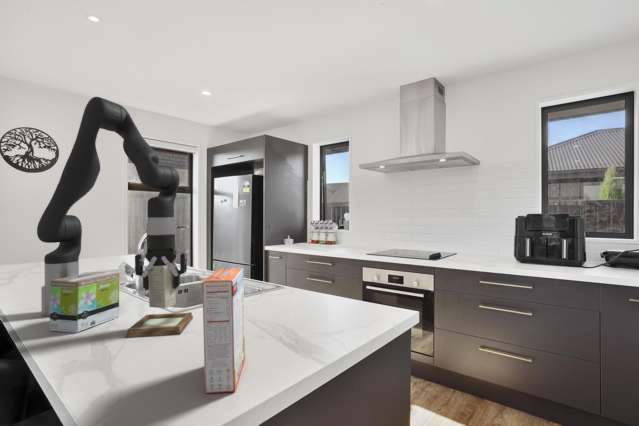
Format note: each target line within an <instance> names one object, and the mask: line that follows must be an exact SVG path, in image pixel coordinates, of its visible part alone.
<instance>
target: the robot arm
mask: <svg viewBox="0 0 639 426" xmlns="http://www.w3.org/2000/svg"><path fill="white" fill-rule="evenodd" d="M82 114H83V115H82V117H81V121H80V125H79V128H78V132H77V135H76V138H75V141H74V143H73V145H72V149H71V152H70V153H69V156H68V158H67V160H66V163H65V165H64V167H63V170H62V172H61V175H60V178H59V181H58V184H57V185H56V187H55V190H54V192H53V194H52V197H51V198H50V200H49V203H48V204H47V206H46V207H45V210H44V211H43V213H42V215H41V217H40V219H39V221H38V224H37V228H36V235H37V237H38V240H40V241H41V242H43V243H48V244H51V243H52V244H53V243H54V244H56V243H59V244H58V247H57V248H55V249H54V250H53V251H50V252H49V253H46V254H45V255H44V259H43V260H44V263H43V264H44V266H43V267H44V285H43V286H41V291H40V292H41V296H40V297H41V316H44V317H50V294H51V280H55V279H61V278H66V277H71V276H77V275H80V267H79V266H80V263H79V261H80V260H79V259H80V258H79V257H80V255H81V251H82V238H83V237H82V236H83V235H82V234H83V226H82V222H81V220H80V219H79V218H78V217H77V216H76V215H73V214H68V212H69V211H70V209H71V208H72V207H73V206H74V205H75V204H76V203H77V202H78V201H80V199H82V198H83V197H85V196H86V195H87V194H88V193H89V192H90V191H91V190H92V189H93V187H94V186H95V185H96V182H97V180H98V177H99V175H100V172H101V161H100V159H99V154H98V152H97V147H96V142H97V137H98V134H99V131H100V130H101V129H102V130H106V131H109V132H114V133H116V134H117V135H118V136H119V137H121V138H122V139H123V141H122V148H123V153H124V154H125V155H126V157H127V158H128V159H129V161H130V162H131V163H132V164H133V165H134V166H135V169H136V172H137V175H138V179H139V180H140V182H141V184H142V185H143V186H145V187H147V188H148V189H153V190H154V189H157V190H159V193H158V195H157V196H153V197H150V198H149V199H148V200H147V207H146V208H147V209H146V212H147V214H146V216H147V218H146V219H147V221H146V229H145V231H146V253H137V254H135V256H134V271H135V272H134V274H135V275H136V276H139V277H141V278H142V287H143V289H144V290H145V291H149V287H148V273H149V271H150V270H151V268H152V266H162V265H166V266H169V270H170V271H171V272H172V273H173V274H174V277H173V288H174V289H175V290H176V289H177V290H178V288H179V287H180V286H181V275H183V274H185V273H187V270H188V268H187V267H188V266H187V265H188V263H187V262H188V260H187V259H188V254H187V252H180V253H179V252H177V251H176V223H175V205H174V204H175V202H176V201H175V200H176V196H177V193H178V190H179V187H180V181H181V180H180V174H179V171H178V170H177V169H176V168H175V167H174V166H171V165H170V166H169V165H164V164H160V158H159V155H158V154H157V152H155V150H154V149H153V148H152V146H151V145H150V144H149V143H148V142H147V140H145V139H144V137H143V136H142V134H141V133H140V131H139V129H138V127H137V126H136V124H135V121H134V120H133V118H132V117H131V115H130V113H129V112H128V110H127V108H125V107H124V106H123V105H120V104H119V103H116V102H113V101H112V100H108V99H106V98H103V97H99V96H93V97H92V98H91V99H89V100H88V102H87V104H86V106H85V107H84V111H83V113H82ZM176 258H177V260H178V261H180V262H179V264H180V265H179V267H178V266H177V264H176V263H175V260H176ZM145 259H146V260H147V262H148V264H147V266H146V267H145V269H144V261H145ZM172 264H174V266H173V265H172Z"/></svg>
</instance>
